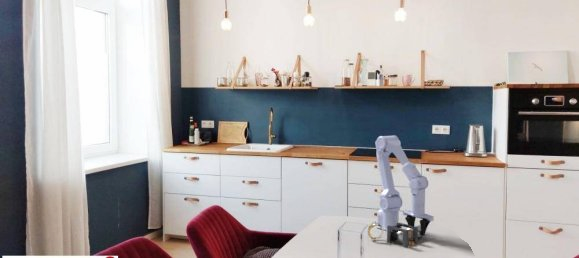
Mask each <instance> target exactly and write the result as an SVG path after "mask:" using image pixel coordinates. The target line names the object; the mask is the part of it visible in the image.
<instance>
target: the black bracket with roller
mask: <svg viewBox="0 0 579 258" xmlns="http://www.w3.org/2000/svg"><path fill="white" fill-rule="evenodd" d="M415 226H416V225H414V226H411V225H408V223H402V222H398V223H397V225H395V226H390V225H389V226H387V230H386V231H387V232H386V242H387V243H393V242H394V241H395V237H394V236H395V234H396V233H397V232H400V231H401V232H403V243H402V247H403V248H408V246H411V247H414V246H415V245H417V244H418V239H419V238H418V227H415ZM404 228H405V229H404ZM406 228H407V229H409V228H411V229H413V240H411V241H408V230H406Z"/></svg>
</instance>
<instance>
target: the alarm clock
mask: <svg viewBox="0 0 579 258" xmlns="http://www.w3.org/2000/svg"><path fill="white" fill-rule="evenodd" d="M377 226H379V227H380V228H381V234H380V235H379V236H378V237H376V236H375V237H373V236H371V234H370V232H371V230H372V229H373V228H374V227H377ZM380 228H379V229H380ZM367 234H368V235H367V236H369V238H370V239H372V240H374V241H377V240H380V239H381V238H382V237H383V235H384V229H383V227H382V226H381V225H380V224H379V222H378V223H377V221H373V222H371V223H370V224H369V226H368V228H367Z"/></svg>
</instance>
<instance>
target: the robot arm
mask: <svg viewBox="0 0 579 258" xmlns="http://www.w3.org/2000/svg"><path fill="white" fill-rule="evenodd" d="M374 143H375V148H376V149H375V150H376V154H375V155H376V161H377V166H378V170H379V171H378V172H379V175H380V180H381V185H382V186H381V187H382V192H381V193H380V194H379V206H380V209H379V210H378V211H377V212H378V213H377V221H376V223H378V222H379V224H380V225H381V226H382V227H383V229H384V230H385V231H387V226H389V225H390V226H395V225H397V223H399V220H400V219H399V215H400V213H399V212H400V209H401V208H402V207H403V199H402V197H401V195H400V192H399V190H397V189H396V188H395V183H394V179H393V173H392V169H391V168H392V167H391V161H390V158H389V157H390V155H391V154H392V153H393V155H394V156H395V157H396V159H397V160H398V162H400V164H401V165H402V169H401V170H402V172H403V173H404V175H405V176H406V178H407V179H408V181H409V183H408V186H409V188H410V193H411V206H410V207H411V208H410V209H411V210H406V209H405V210H402V216H405V217H404V219H405V221H406V224H407V225H411V226H415V223H416V219H420V220H419V225H421V236H422V237H424V236H425V235H426V232H427V229H428V226H429V225H430V223H431V222H433V221H434V220H435V218H434V217H435V216H433V215H430V214H427V213H426V212H425V211H426V210H425V209H426V189H427V188H428V186H429V181H428V179H427V177H426V176H424V175H423V174H421V173H420V172H419V169H418V168H417V167H416V166H417V165H416V164H415V163H414V162H410V160H409V159H408V157H407V155H406V153H405V151H404V150H403V148H402V146H401V143H402V142H401V141H400V139H399V137H398V136H397V135H394V134H393V135H383V136H382V135H380V136H378V137H377V139H376V140H375V142H374ZM375 227H376V229H379V230H380V229H381V228H380V227H379V226H375ZM423 235H424V236H423Z"/></svg>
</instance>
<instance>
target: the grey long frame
mask: <svg viewBox="0 0 579 258" xmlns="http://www.w3.org/2000/svg"><path fill="white" fill-rule="evenodd" d="M414 226H415V227H418V239H419V238H421V237H424V236H425V235H423V236H421V225H420V224H419V225H414ZM405 230H408V242H409V241H413V229H411V228H407V229H406V228H405ZM394 237H395V240H394V241H395V242H396V243H397V244H399V245H401V244H402V245H403V232H401V231H400V232H397V233H396V234H395V236H394Z"/></svg>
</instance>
